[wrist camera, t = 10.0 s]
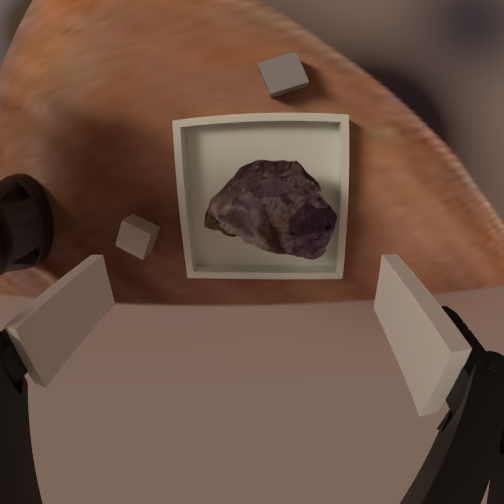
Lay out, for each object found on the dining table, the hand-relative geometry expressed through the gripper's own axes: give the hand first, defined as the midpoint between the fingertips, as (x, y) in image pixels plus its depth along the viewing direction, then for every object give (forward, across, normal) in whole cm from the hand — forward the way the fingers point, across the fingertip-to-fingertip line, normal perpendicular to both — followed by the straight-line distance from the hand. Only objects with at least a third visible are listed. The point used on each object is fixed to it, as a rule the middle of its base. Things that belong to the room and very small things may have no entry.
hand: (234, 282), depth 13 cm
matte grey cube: (+21, -15, -4) cm, 26 cm away
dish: (+20, 0, 0) cm, 20 cm away
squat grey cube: (+20, +3, +13) cm, 24 cm away
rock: (+20, +1, 0) cm, 20 cm away
